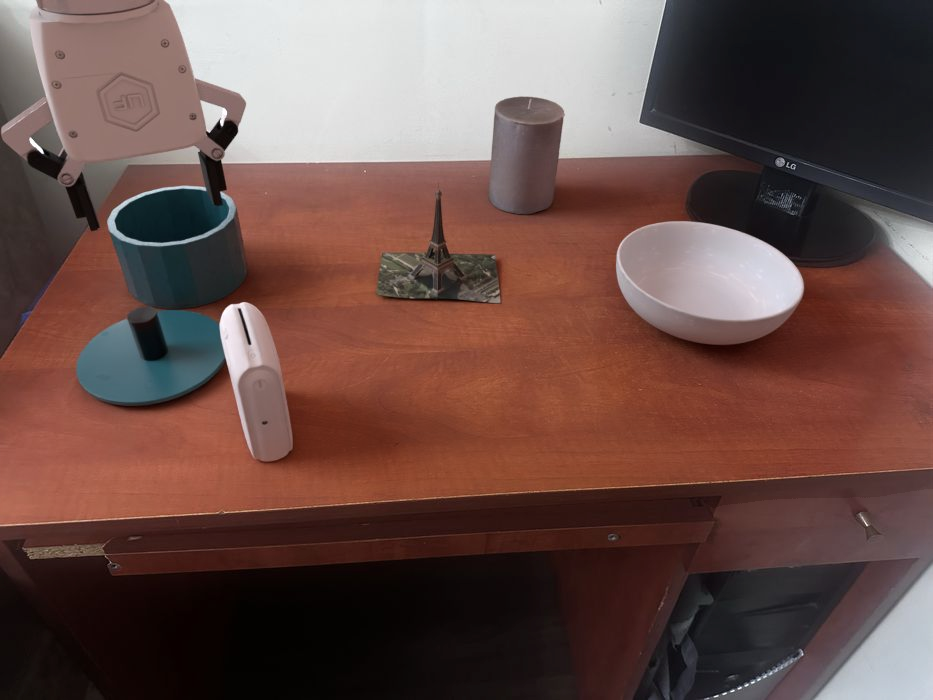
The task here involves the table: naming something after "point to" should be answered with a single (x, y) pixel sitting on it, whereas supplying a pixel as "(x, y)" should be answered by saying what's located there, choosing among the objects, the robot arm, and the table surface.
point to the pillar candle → (525, 154)
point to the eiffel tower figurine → (439, 271)
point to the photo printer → (256, 381)
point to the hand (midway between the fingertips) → (156, 210)
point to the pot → (178, 247)
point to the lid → (151, 357)
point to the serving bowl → (707, 282)
